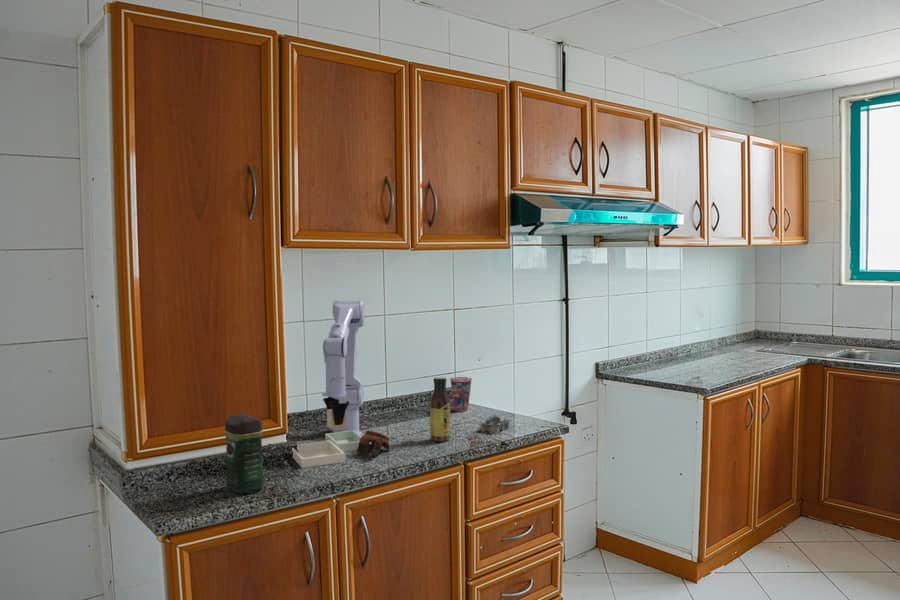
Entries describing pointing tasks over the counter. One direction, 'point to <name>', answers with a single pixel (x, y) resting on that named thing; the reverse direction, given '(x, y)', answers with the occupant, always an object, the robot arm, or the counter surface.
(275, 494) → the counter surface
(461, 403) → the cup
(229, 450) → the coffee jar
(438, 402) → the sauce bottle
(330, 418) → the sandstone block
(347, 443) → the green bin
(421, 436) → the counter surface
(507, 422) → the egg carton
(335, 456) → the cream bin
